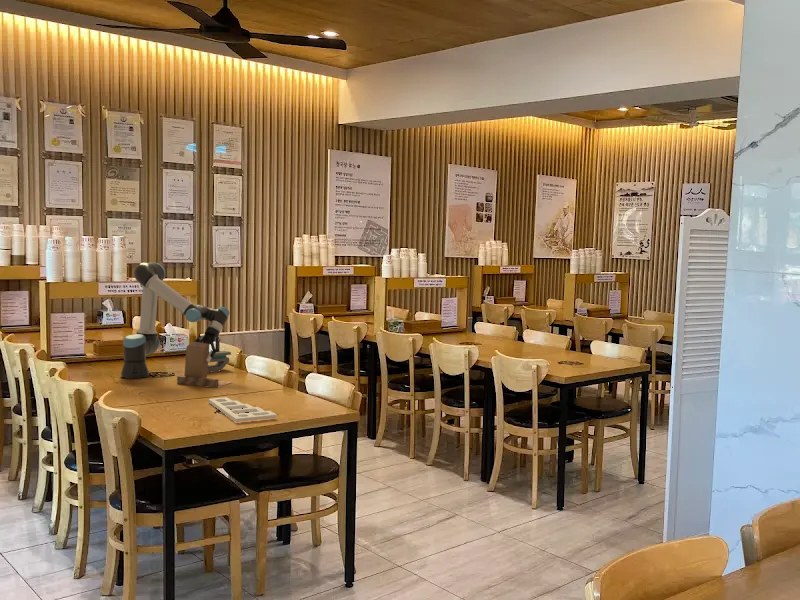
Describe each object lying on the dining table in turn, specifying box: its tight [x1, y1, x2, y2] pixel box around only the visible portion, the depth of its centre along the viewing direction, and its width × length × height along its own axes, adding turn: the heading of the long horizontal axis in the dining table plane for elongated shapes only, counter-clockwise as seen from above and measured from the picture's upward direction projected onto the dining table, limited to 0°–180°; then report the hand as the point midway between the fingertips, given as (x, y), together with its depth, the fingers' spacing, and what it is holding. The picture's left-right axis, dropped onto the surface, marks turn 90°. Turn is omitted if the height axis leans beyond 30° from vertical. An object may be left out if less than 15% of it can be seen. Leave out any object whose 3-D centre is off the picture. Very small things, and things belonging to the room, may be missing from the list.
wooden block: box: [183, 341, 210, 378], centre depth 404 cm, size 10×10×20 cm
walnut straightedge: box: [176, 375, 220, 388], centre depth 396 cm, size 25×3×4 cm, turn 67°
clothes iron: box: [207, 350, 232, 373], centre depth 440 cm, size 25×8×11 cm, turn 128°
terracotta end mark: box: [219, 380, 234, 387], centre depth 401 cm, size 13×12×1 cm
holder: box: [208, 397, 277, 422], centre depth 336 cm, size 45×18×3 cm, turn 29°
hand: (197, 360), depth 406 cm, fingers open, 13 cm apart
